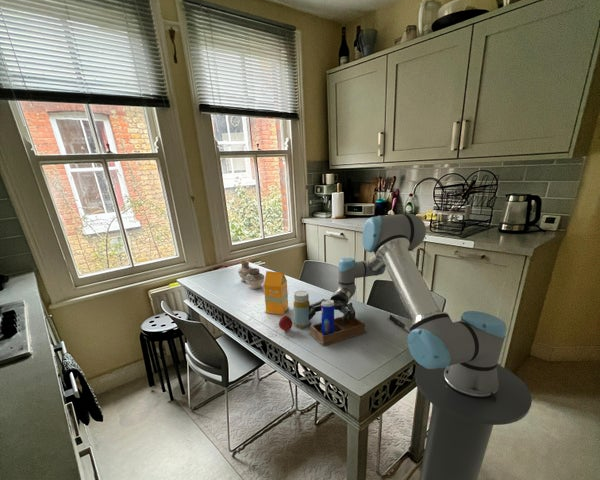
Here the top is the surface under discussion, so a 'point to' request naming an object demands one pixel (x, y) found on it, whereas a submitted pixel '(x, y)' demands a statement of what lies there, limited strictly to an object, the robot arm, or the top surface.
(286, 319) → the onion
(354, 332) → the wooden divided tray
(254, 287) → the pottery
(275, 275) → the orange juice
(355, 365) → the top surface
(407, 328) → the kitchen knife
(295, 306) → the bottle
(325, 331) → the beverage can
